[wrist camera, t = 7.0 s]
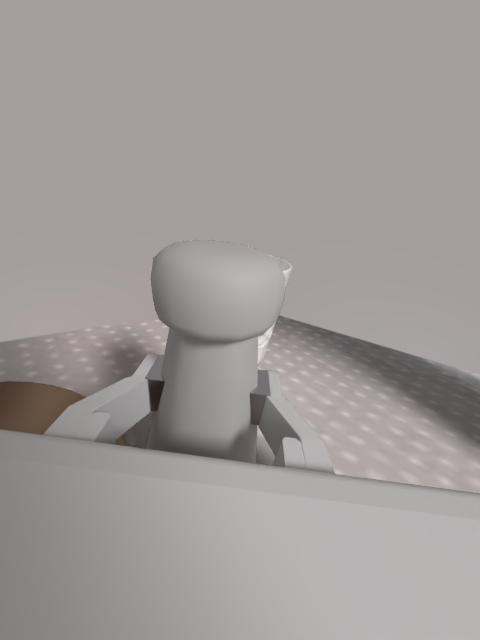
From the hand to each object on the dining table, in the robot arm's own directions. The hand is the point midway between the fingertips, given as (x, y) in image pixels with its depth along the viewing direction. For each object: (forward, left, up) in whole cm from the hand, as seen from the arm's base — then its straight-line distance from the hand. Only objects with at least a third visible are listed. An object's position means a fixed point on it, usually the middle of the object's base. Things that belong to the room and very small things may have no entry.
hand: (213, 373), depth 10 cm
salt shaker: (0, +1, -7) cm, 7 cm away
